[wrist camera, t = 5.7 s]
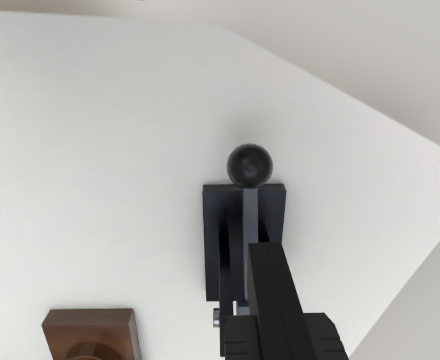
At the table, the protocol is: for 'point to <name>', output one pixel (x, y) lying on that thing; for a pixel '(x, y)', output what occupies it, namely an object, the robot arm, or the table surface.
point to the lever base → (234, 241)
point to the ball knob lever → (249, 200)
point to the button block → (92, 334)
